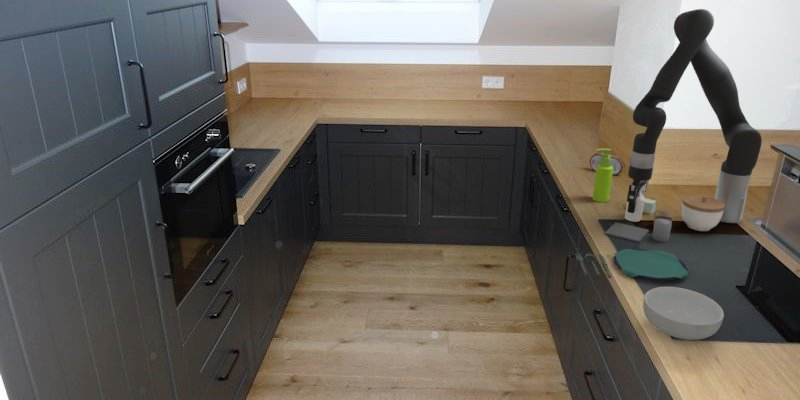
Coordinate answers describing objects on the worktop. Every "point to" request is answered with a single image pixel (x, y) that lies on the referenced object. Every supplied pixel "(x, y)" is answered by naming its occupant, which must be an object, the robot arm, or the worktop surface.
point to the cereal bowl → (682, 312)
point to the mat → (627, 232)
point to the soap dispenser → (603, 177)
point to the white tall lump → (636, 209)
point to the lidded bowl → (702, 212)
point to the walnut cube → (663, 215)
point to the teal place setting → (643, 264)
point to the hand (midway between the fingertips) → (634, 208)
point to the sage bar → (649, 206)
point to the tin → (615, 162)
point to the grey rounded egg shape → (662, 230)
